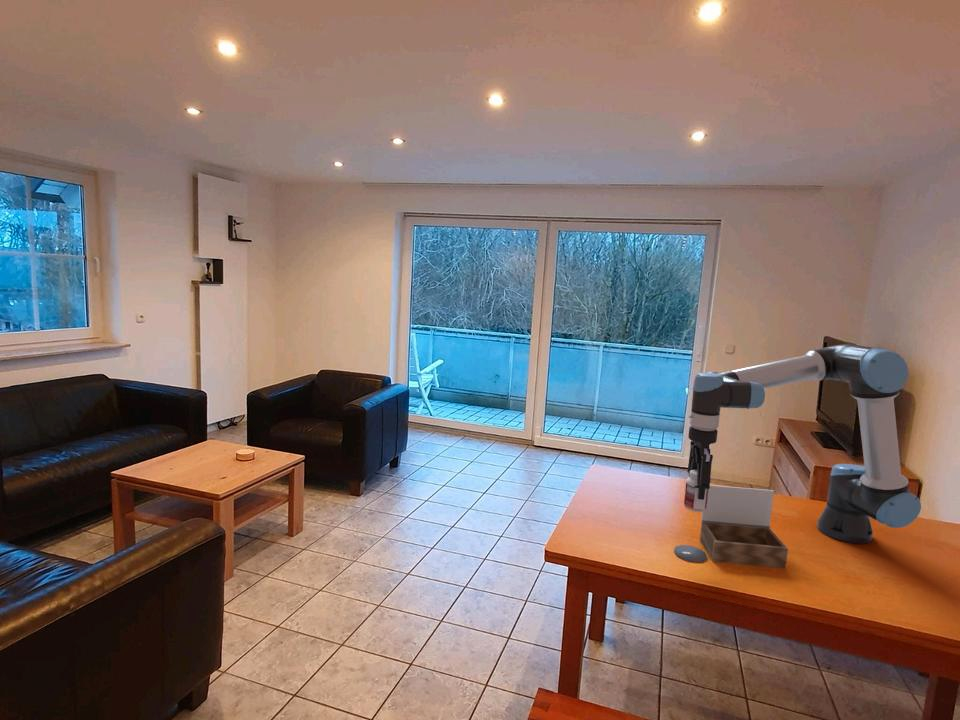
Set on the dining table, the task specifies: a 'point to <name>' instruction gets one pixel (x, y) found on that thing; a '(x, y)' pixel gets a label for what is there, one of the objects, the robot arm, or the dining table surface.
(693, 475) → the pill bottle
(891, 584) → the dining table surface
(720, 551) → the box
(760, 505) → the frame lid
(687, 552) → the grey round disc
